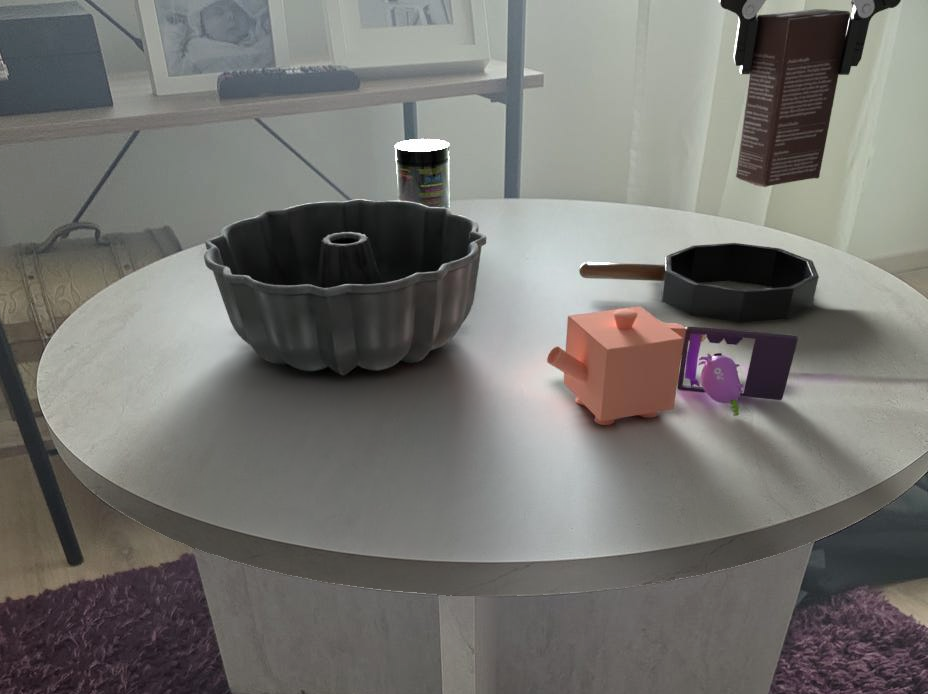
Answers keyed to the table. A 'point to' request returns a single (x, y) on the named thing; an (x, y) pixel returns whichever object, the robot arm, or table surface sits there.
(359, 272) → the bundt pan
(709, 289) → the frying pan
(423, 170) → the supplement container
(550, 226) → the table surface
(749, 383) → the purple frame figurine
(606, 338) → the pink cube teapot
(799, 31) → the box
